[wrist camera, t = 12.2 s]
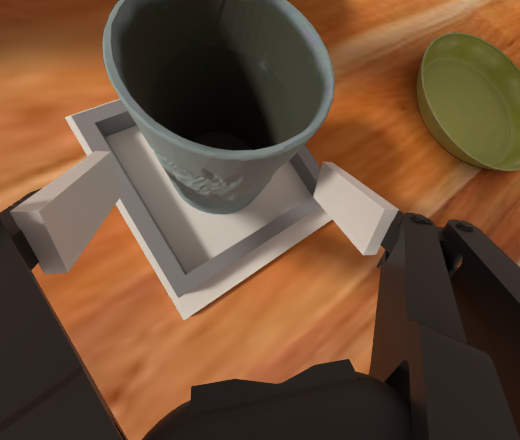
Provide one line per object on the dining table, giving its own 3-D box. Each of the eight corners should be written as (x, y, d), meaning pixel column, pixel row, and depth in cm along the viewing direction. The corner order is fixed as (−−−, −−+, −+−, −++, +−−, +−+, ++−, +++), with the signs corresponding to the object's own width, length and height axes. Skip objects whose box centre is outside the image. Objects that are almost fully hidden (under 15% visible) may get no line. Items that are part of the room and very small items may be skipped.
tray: (71, 124, 20) (48, 100, 17) (240, 66, 25) (244, 40, 23) (185, 318, 19) (181, 326, 16) (337, 214, 24) (354, 206, 21)
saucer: (387, 137, 28) (409, 122, 25) (414, 30, 34) (434, 7, 31) (513, 203, 31) (546, 196, 28) (518, 93, 37) (546, 77, 34)
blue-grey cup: (147, 205, 19) (56, 111, 8) (180, 108, 22) (149, -71, 10) (260, 232, 21) (323, 187, 9) (279, 139, 23) (346, 15, 12)
